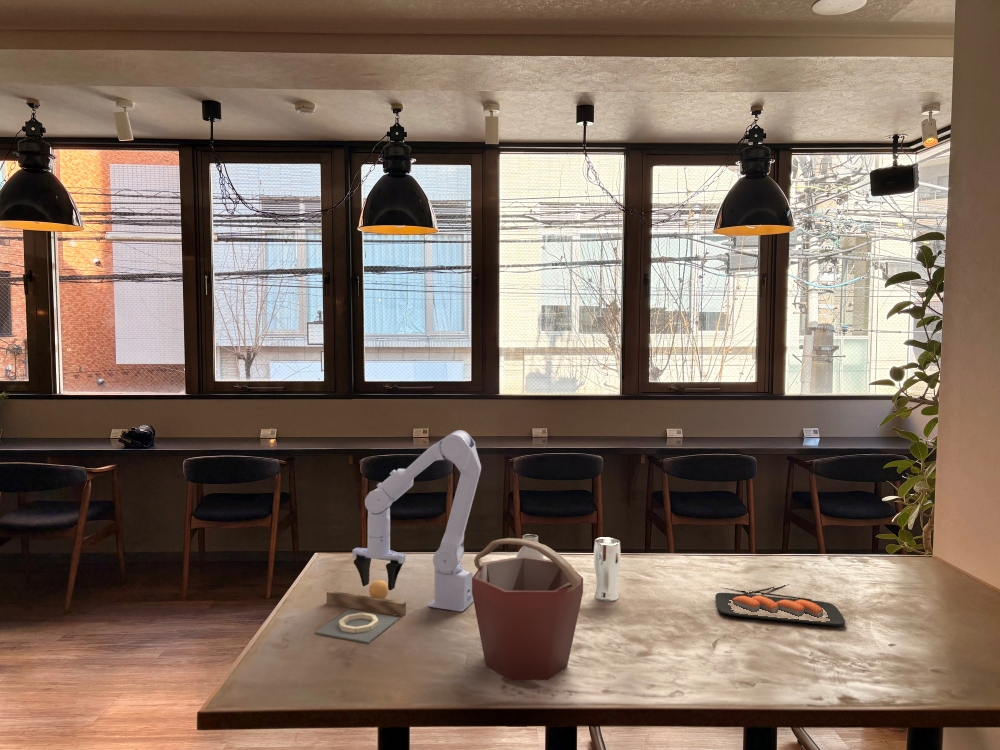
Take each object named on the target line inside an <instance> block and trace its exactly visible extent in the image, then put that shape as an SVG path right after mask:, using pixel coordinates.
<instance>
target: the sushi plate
mask: <svg viewBox="0 0 1000 750" xmlns="http://www.w3.org/2000/svg"><path fill="white" fill-rule="evenodd" d="M774 587H775V586H771V587H767V588H763V589H759V590H758V589H757V590H751V591H752V592H749V593H748V592H743V593H736V592H735V593H734V592H718V593H716V594H715V598H714V599H715V604H716V607H717V610H718V611H719V613H721V614H725V615H729V616H735V617H743V618H753V619H762V620H763V619H764V620H772V621H784V622H794V623H806V624H814V625H815V624H816V625H825V626H836V627H837V626H838V627H839V626H845V624H846V620H845V617H844V616H843V614H842V613H841V611H840V610H839V608H838V607H837V606H836V605H834V604H832V603H830V602H827V601H821V600H813V599H812V598H805V597H798V596H790V595H783V594H782V595H781V594H776V593H770V592H769V593H767V591H770V590H769V589H771V588H774ZM766 590H767V591H766ZM756 593H761V594H757V595H756ZM764 594H766V595H764ZM729 600H732V601H733V604H734V605H736V606H739V607H741V608H743V609H746V610H749V611H751V612H757V611H759V609H762V610H765V611H768V612H770V613H777V612H778V610H781V611H784V612H787V613H790V614H792V615H795V616H798V617H799V616H802V615H803V614H804V613H805V614H809V615H811V616H814V617H817V618H819V617H822V616H823V609H824V610H825V611H826V612H827V615H828V617H826V618H828V619H830V621H826V622H821V621H809V620H799V619H788V618H777V617H768V616H758V615H748V614H739V613H735V612H733V611H734V610H731V609H732V608H731V606H730V605H728V603H731V601H729ZM822 608H823V609H822Z"/></svg>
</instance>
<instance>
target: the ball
mask: <svg viewBox="0 0 1000 750" xmlns="http://www.w3.org/2000/svg"><path fill="white" fill-rule="evenodd" d="M389 591H390V590H388V583H387V582H385V580H382V579H381V580H380V579H377V580H375V581H373V582H372V583H371V584H370V585H369V589H368V593H369V597H375V598H381V599H386V598H387V596H388V594H389Z"/></svg>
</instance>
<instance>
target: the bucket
mask: <svg viewBox="0 0 1000 750" xmlns="http://www.w3.org/2000/svg"><path fill="white" fill-rule="evenodd" d="M499 545H516V546H517V545H518V546H522V547H523V546H526V547H529V548H532V549H535V550H537V551H539V552H540V553H542V555H543V556H544V557H546V558H548V559H544V558H543V559H538V558H532V557H525V556H522V557H517V556H516V557H510V558H505V559H498V560H492V561H486V562H483V561H482V560H481V559H482V558H484V557H486V556H487V555H489V554H491V553H492V552H493V551H494V550H495V549H497V548H498V546H499ZM473 563H474V567H475V568H476V569H477V571H476V572H475V574H474V575H472V576H473V578H472V595H473V605H474V610H475V616H476V621H477V627H478V631H479V636H480V643H481V649H482V653H483V658H484V659H483V660H484V662H485V667H486V668H488V669H490V670H492V671H493V672H494V673H496V674H498V675H500V676H501V677H503V678H505V679H507V680H508V681H549V680H550V679H552V678H553V677H554V676H556V675H557V674H558V673H560V672H561V671H562V670H564V669H565V668H567V667H568V664H569V659H570V655H571V651H572V646H573V642H574V636H575V630H576V628H577V622H578V618H579V613H580V608H581V603H582V599H583V594H584V578H583V576H581V574H579V573H578V572H577V571H576V569H574V567H573V566H572V564H570V562H568V561H567V560H566V559H565V558H564V557H563V556H562V555H560V553H558V552H556V550H553V549H552V548H551V547H549V546H547V545H546V544H542V543H540V542H538V543H537V542H534V541H530V540H526V539H523V538H513V537H512V538H511V537H507V538H501V539H500V538H499V539H495V540H492V541H491V542H490V543H488V545H486V547H485V548H484V549H483V550H481V551H479V552H478V553H477V554H476V556H474V561H473Z"/></svg>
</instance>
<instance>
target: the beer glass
mask: <svg viewBox="0 0 1000 750" xmlns="http://www.w3.org/2000/svg"><path fill="white" fill-rule="evenodd" d="M593 566H594V572H595V573H594V574H595V579H596V586H595V594H594V597H595V598H596V599H597V600H598V601H600V602H601V601H602V602H608V601H609V602H615V601H618V599H619V593H618V577H619V572H620V568H621V567H620V566H621V541H620V540H619V539H616V538H613V537H598V538H595V539H594V546H593Z"/></svg>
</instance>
